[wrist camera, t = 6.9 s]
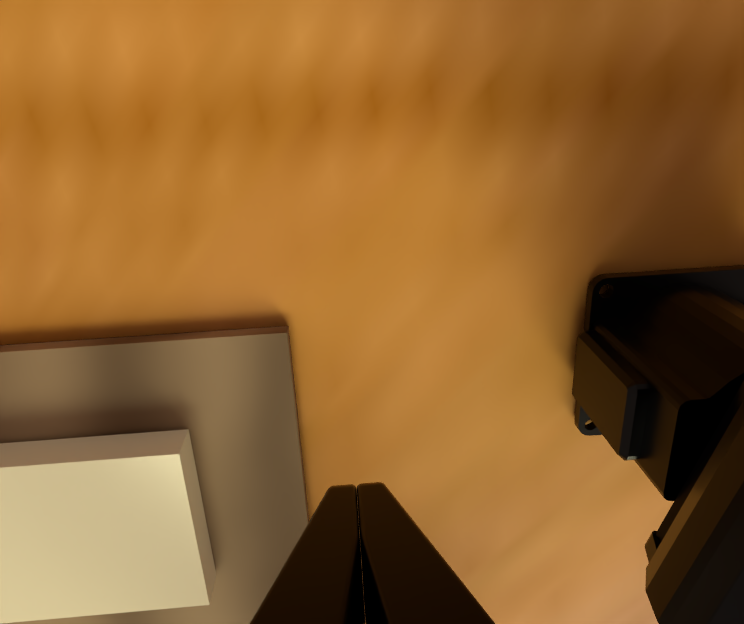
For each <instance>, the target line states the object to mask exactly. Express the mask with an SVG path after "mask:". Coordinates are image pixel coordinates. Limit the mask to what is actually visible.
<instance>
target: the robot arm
mask: <svg viewBox="0 0 744 624" xmlns="http://www.w3.org/2000/svg"><path fill="white" fill-rule="evenodd" d="M607 284H608V286H609V288H608V290H607V291H606V292H605V293H603V294H600V293H599V291H600V289H601V287H603V286H604V285H607ZM572 395H573V396H574V398H575V399H576V410H575V425H576V426H577V428H578V429H579V430H580V432H581V433H582V434H584V435H603V436H604V437H605V439H606V440H607V441H608V443H609V444H610V445H611V447H612V448H613V449H614V451H615V452H616V453H617V454H618V455H619V456H620V457H621V458H622V459H624V460H635V462H636V463H637V464H638V465H639V467H640V468H641V469H642V470H643V472H644V473H645V474H646V475H647V477H648V478H649V479H650V481H651V482H652V483H653V484H654V486H655V487H656V488H657V489H658V491H659V492H660V493H661V495H662V496H663V497H664V498H665V499H666V500H668V501H674V503H673V505H672V506H671V508H670V510H669V512H668V513H667V515H666V517H665V519H664V520H663V522H662V524H661V526H660V527H659V529H658V531H653V532H652V534H651V535H650V537H649V539H648V541H647V542H646V544H645V549H646V553H647V557H648V561H649V564H648V566H647V567H646V593H647V596H648V598H649V601H650V603H651V606H652V608H653V611H654V614H655V616H656V619H657V621H658V623H659V624H744V265H737V266H722V267H706V268H691V269H676V270H660V271H645V272H630V273H614V274H602V275H598V276H596V277H595V278H593V279H592V281H591V282H590V283H589V286H588V292H587V302H586V312H585V322H584V331H582V332H581V333H580V335H579V336H578V338H577V347H576V358H575V368H574V378H573V388H572ZM590 419H591V420H592V422H591V423H590V424H587V425H586V424H585V423H586V422H587V421H588V420H590ZM357 500H358V504H357ZM358 515H359V519H358ZM359 530H360V534H359ZM360 545H361V549H360ZM361 560H362V565H361ZM362 575H363V580H362ZM363 590H364V595H363ZM364 605H365V610H364ZM365 620H366V624H495V623H494V621H493V620H492V619H491V618H490V616H489V615H488V614H487V613H486V611H485V610H484V609H483V608H482V606H481V605H480V604H479V603H478V601H477V600H476V599H475V598H474V596H473V595H472V594H471V593H470V591H469V590H468V589H467V588H466V586H465V585H464V584H463V582H462V581H461V580H460V579H459V577H458V576H457V575H456V574H455V572H454V571H453V570H452V569H451V567H450V566H449V565H448V564H447V562H446V561H445V560H444V559H443V557H442V556H441V555H440V554H439V552H438V551H437V550H436V549H435V547H434V546H433V545H432V544H431V542H430V541H429V540H428V539H427V537H426V536H425V535H424V533H423V532H422V531H421V530H420V528H419V527H418V526H417V525H416V523H415V522H414V521H413V520H412V518H411V517H410V516H409V515H408V513H407V512H406V511H405V510H404V508H403V507H402V506H401V505H400V503H399V502H398V501H397V500H396V498H395V497H394V496H393V495H392V493H391V492H390V491H389V489H388V488H387V487H386V486H385V485H384V484H383V483H381V482H376V483H363V484H359V485H358V486H357V490H356V487H355V486H354V485H352V484H351V485H338V486H331V487H330V488H329V489H328V490H327V492H326V494H325V495H324V497H323V499H322V501H321V502H320V504H319V506H318V507H317V509H316V511H315V513H314V514H313V516H312V518H311V519H310V521H309V523H308V524H307V526H306V528H305V530H304V531H303V533H302V535H301V536H300V538H299V540H298V542H297V543H296V545H295V547H294V548H293V550H292V552H291V553H290V555H289V557H288V559H287V560H286V562H285V564H284V565H283V567H282V569H281V571H280V572H279V574H278V576H277V577H276V579H275V581H274V582H273V584H272V586H271V588H270V589H269V591H268V593H267V594H266V596H265V598H264V600H263V601H262V603H261V605H260V606H259V608H258V610H257V611H256V613H255V615H254V617H253V618H252V620H251V622H250V623H249V624H365Z"/></svg>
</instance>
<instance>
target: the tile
mask: <svg viewBox="0 0 744 624" xmlns="http://www.w3.org/2000/svg"><path fill="white" fill-rule="evenodd" d="M215 578H216V570H215V565H214V559H213V554H212V549H211V544H210V538H209V533H208V528H207V523H206V518H205V512H204V507H203V502H202V497H201V491H200V486H199V481H198V476H197V471H196V465H195V460H194V455H193V450H192V444H191V439H190V434H189V429H186V430H172V431H159V432H146V433H132V434H119V435H106V436H93V437H79V438H66V439H53V440H40V441H26V442H13V443H0V624H2V623H13V622H24V621H35V620H47V619H58V618H69V617H80V616H91V615H102V614H114V613H125V612H136V611H147V610H158V609H169V608H181V607H192V606H203V605H210V601H211V596H212V592H213V587H214V583H215Z"/></svg>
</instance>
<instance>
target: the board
mask: <svg viewBox="0 0 744 624" xmlns="http://www.w3.org/2000/svg"><path fill="white" fill-rule="evenodd" d="M186 429H189V434H190V439H191V444H192V450H193V455H194V460H195V465H196V471H197V476H198V481H199V486H200V491H201V497H202V502H203V507H204V512H205V518H206V523H207V528H208V533H209V538H210V544H211V549H212V554H213V559H214V565H215V570H216V578H215V583H214V587H213V592H212V596H211V601H210V605H203V606H192V607H181V608H169V609H158V610H147V611H136V612H125V613H114V614H102V615H91V616H80V617H69V618H58V619H47V620H35V621H24V622H13V623H2V624H249V623H250V622H251V620H252V618H253V617H254V615H255V613H256V611H257V610H258V608H259V606H260V605H261V603H262V601H263V600H264V598H265V596H266V594H267V593H268V591H269V589H270V588H271V586H272V584H273V582H274V581H275V579H276V577H277V576H278V574H279V572H280V571H281V569H282V567H283V565H284V564H285V562H286V560H287V559H288V557H289V555H290V553H291V552H292V550H293V548H294V547H295V545H296V543H297V542H298V540H299V538H300V536H301V535H302V533H303V531H304V530H305V528H306V526H307V524H308V523H309V515H308V506H307V497H306V487H305V478H304V469H303V459H302V450H301V441H300V431H299V422H298V413H297V403H296V394H295V385H294V375H293V366H292V357H291V347H290V338H289V329H288V326H278V327H264V328H249V329H234V330H219V331H204V332H190V333H175V334H160V335H145V336H131V337H116V338H101V339H86V340H72V341H57V342H42V343H27V344H12V345H0V443H13V442H26V441H40V440H53V439H66V438H79V437H93V436H106V435H119V434H132V433H146V432H159V431H172V430H186Z"/></svg>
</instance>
